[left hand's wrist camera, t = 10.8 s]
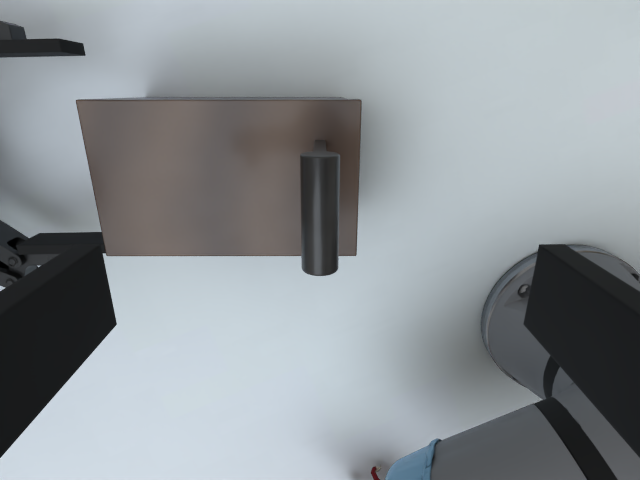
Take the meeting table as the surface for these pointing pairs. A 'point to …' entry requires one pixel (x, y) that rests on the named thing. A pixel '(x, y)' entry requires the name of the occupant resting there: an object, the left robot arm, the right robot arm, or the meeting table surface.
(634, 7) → the meeting table surface
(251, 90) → the meeting table surface
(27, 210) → the meeting table surface
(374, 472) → the toy
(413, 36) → the meeting table surface
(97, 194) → the lid
